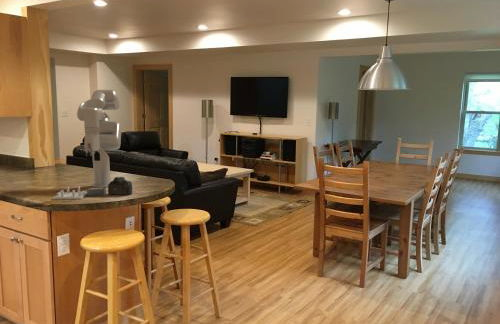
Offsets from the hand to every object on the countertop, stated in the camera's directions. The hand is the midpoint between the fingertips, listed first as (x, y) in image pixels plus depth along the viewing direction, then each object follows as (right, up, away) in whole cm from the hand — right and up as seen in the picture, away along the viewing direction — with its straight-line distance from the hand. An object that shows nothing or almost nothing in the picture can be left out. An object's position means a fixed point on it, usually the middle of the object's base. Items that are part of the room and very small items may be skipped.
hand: (93, 161), depth 228 cm
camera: (+13, -18, +7) cm, 23 cm away
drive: (0, -19, +4) cm, 19 cm away
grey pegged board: (-13, -19, 0) cm, 23 cm away
